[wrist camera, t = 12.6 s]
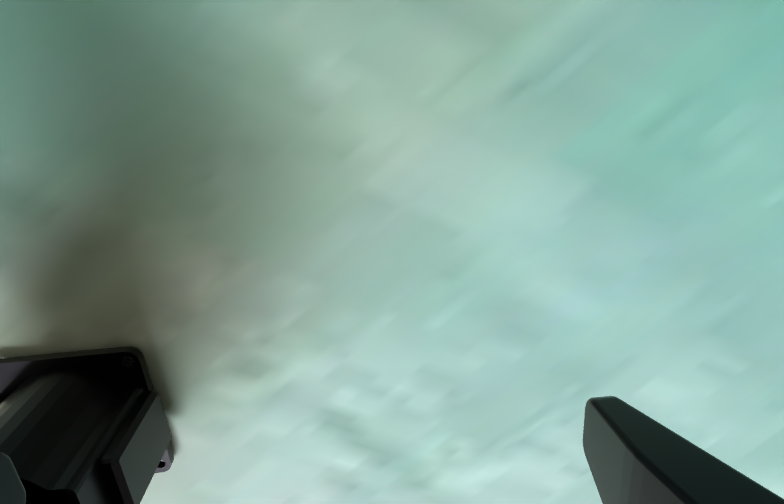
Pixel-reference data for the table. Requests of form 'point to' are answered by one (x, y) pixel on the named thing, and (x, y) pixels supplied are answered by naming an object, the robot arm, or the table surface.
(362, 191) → the table surface
